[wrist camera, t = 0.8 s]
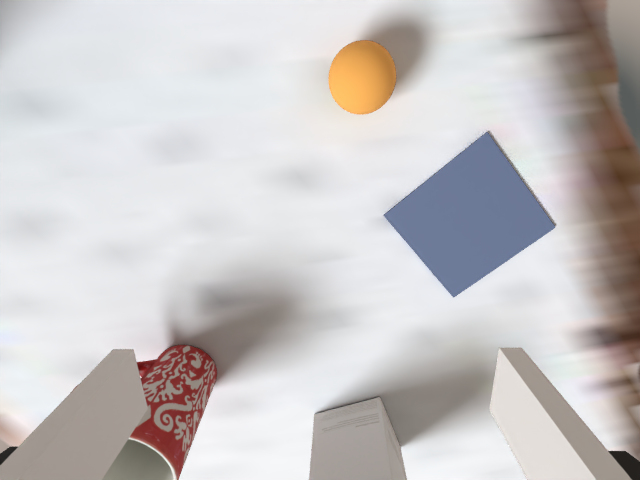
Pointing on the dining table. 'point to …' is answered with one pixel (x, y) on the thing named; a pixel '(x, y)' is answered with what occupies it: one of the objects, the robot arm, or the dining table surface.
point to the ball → (362, 77)
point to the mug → (166, 415)
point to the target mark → (470, 216)
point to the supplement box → (355, 444)
